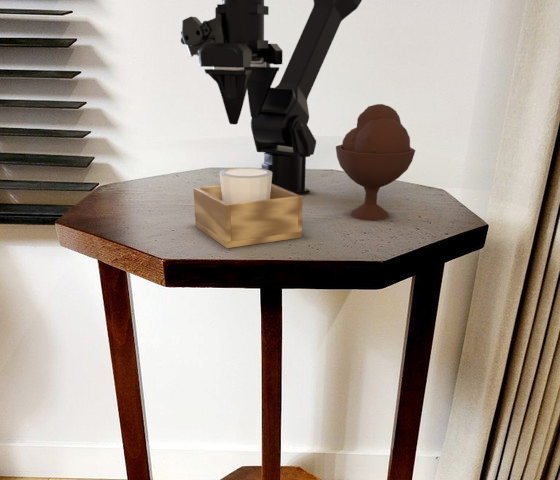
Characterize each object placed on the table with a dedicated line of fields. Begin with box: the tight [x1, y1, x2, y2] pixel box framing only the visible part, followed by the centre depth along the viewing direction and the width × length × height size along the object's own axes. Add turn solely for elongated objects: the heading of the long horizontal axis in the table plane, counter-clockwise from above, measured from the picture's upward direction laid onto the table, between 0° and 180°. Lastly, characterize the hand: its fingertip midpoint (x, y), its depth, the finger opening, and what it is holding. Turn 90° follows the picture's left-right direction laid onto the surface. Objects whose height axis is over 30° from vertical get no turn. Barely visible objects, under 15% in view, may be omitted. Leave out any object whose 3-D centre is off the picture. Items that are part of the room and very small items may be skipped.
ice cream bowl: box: [335, 103, 416, 221], centre depth 85 cm, size 11×11×15 cm
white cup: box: [218, 167, 272, 204], centre depth 79 cm, size 7×7×7 cm
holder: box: [192, 183, 304, 249], centre depth 79 cm, size 11×11×5 cm
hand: (244, 120), depth 89 cm, fingers open, 9 cm apart
